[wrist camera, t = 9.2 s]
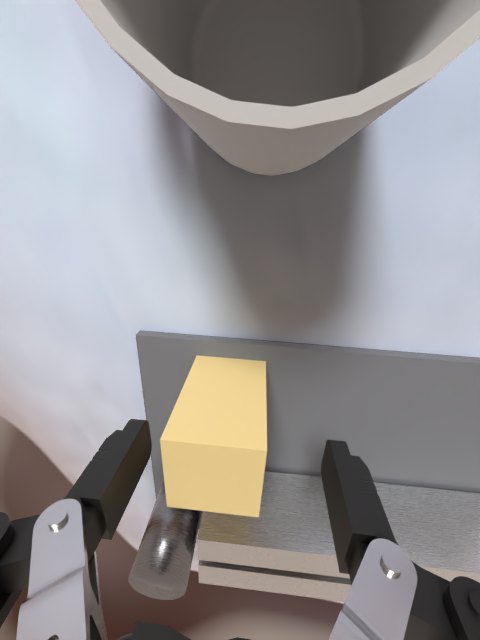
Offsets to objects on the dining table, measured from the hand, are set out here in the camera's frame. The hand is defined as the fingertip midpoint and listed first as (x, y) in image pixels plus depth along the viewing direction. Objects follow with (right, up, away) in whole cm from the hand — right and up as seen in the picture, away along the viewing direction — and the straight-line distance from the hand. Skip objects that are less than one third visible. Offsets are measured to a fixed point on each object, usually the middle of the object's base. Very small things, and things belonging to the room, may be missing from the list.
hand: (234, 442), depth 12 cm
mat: (+6, -4, +7) cm, 10 cm away
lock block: (0, +2, +4) cm, 4 cm away
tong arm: (+8, -6, +7) cm, 12 cm away
